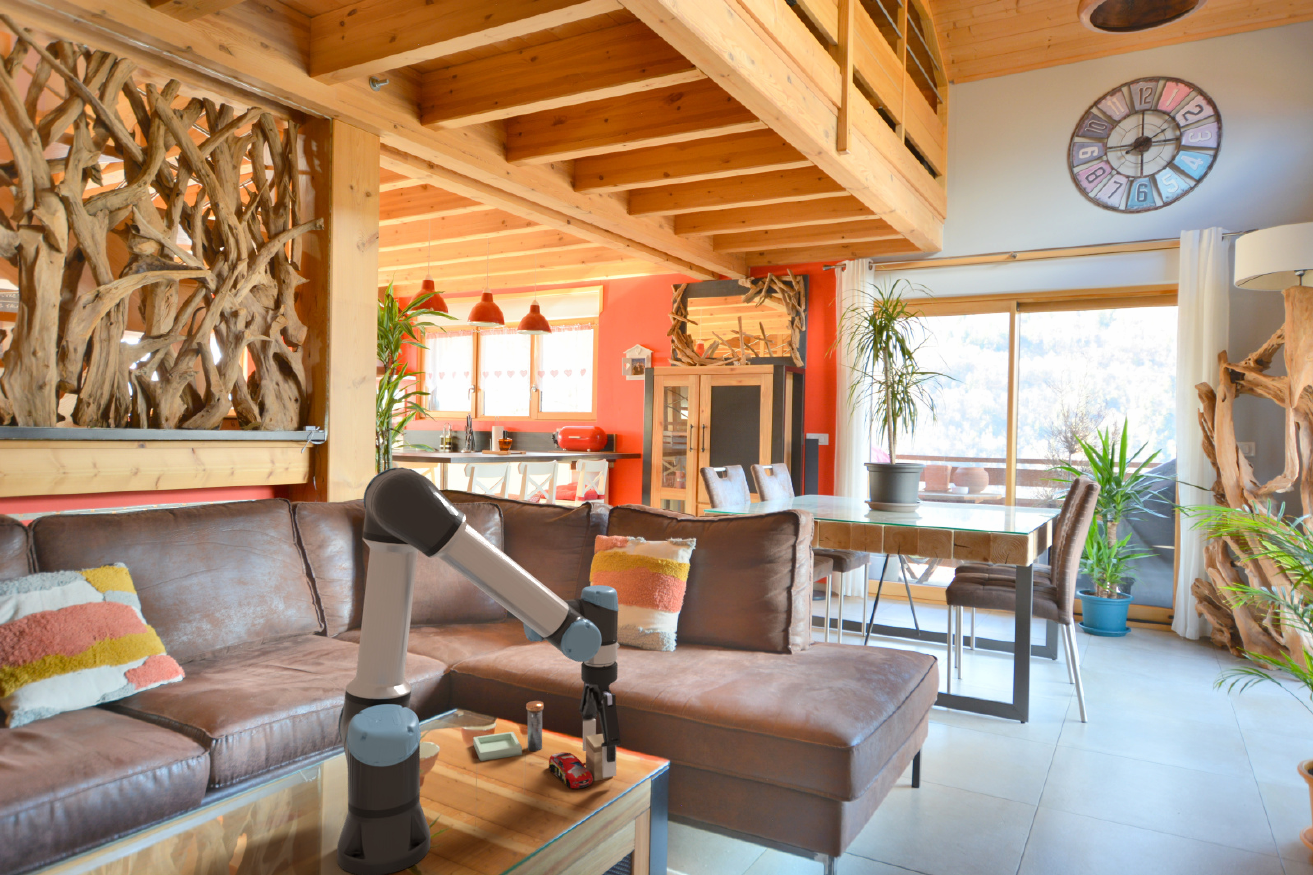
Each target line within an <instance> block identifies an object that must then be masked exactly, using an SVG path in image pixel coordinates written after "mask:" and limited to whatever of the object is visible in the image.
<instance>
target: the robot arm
mask: <svg viewBox="0 0 1313 875" xmlns="http://www.w3.org/2000/svg"><path fill="white" fill-rule="evenodd" d="M365 487H366V488H365V490H364V493H363V501H362V502H363V507H364V510H365V511H364V512H365V513H364V520H363V522H364V523H363V530H362V531H363V532H362V533H363V534H362V541H364V542H365V544H366V545H367V546H368V548H369V556H368V564H367V573H366V574H367V575H366V582H365V583H366V584H365V593H364V600H363V611H362V620H361V628H360V636H359V646H358V656H357V664H356V670H355V671H356V672H355V677H354V678H353V679H352V680H351V681H349V682H348V683H347V685H345V691H344V692H345V694H344V700H343V701H344V702H343V706H342V708H341V711H340V713H339V716H338V725H337V726H338V734H339V737H340V740H341V743H342V745H343V747H342V748H343V751H344V754H345V760H346V763H347V814H346V817H345V820H344V824H343V826H342V829H341V832H340V834H339V839H338V841H337V847H336V861H337V863H338V865H339V867H340V869H342V870H344V871H346V872H347V873H350V874H353V875H387V874H393V873H396V872H399V871H402V870H403V871H404V870H405V869H407V868H410V867H412V866H413V865H415V864H417V863H418V862H420V861H422V860H423V859H424V858H425V857H426V855H427V854H428V853H429V851H430V849H431V831H430V827H429V826H430V825H429V824H428V822H427V819H426V818H427V817H426V815H425V813H424V810H423V807H422V804H421V801H420V799H421V798H420V797H421V796H420V792H421V790H420V789H421V784H420V783H421V780H420V779H421V776H420V775H421V773H420V771H421V770H420V768H421V767H420V766H421V764H420V763H421V759H420V757H421V756H420V755H421V752H420V750H421V749H420V747H421V746H420V744H421V743H420V742H421V737H422V734H421V733H422V731H421V727H420V721H419V718H418V715H417V714H416V713H415V711H413V710H412V709H410V706H411V695H412V685H411V684H410V683H409V682H408V681H407V680H406V678H405V673H406V665H407V655H408V646H409V638H410V629H411V620H412V612H413V611H412V609H413V601H414V593H415V586H416V585H415V584H416V575H417V567H418V556H419V552H420V553H421V554H423V555H425V556H426V557H427V558H428V559H433V558H434V559H435V558H438V559H440V560H441V561H442V562H444V563H445V564H446V565H448V566H449V567H451V568H452V569H453V570H454V571H456V572H457V573H458V574H460V575H461V576H462V577H463V578H465V579H466V580H467V581H468V582H470V583H471V584H472V585H474V586H475V587H477V589H479V590H480V591H482V592H483V593H485V595H487V596H488V597H490V598H491V599H492V600H494V601H495V602H496V603H497V604H499V606H502V607H503V608H504V609H505V610H506V611H508V612H509V613H510V614H512V615H513V616H515V617H516V618H517V619H518V620H520V621H521V622H522V625H523V631H524V634H525V635H524V636H525V637H526V639H527V640H529V642H540V643H542V642H544V641H547V642H548V643H549V644H550V645H551V646H553V647H555V648H556V649H557V650H559V652H561V653H562V654H563V655H564V657H566V658H567V659H569V660H572V661H574V662H577V663H581V665H580V669H581V672H580V679H581V681H582V682H583V686H582V693H581V699H580V705H579V713H580V714H581V718H582V751H583V752H586V736H590V735H596V734H597V719H596V718H597V717H598V718H599V723H600V727H601V734H603V739H604V743H602V744H601V747H602V777H603V778H605V777H611V776H613V777H615V776H617V746H621V744H622V741H621V734H620V727H619V719H618V711H617V701H616V700H617V698H616V697H617V696H616V693H614V692H613V693H612V691H611V689H610V685H612V684H613V683H615V682H617V679H618V662H617V660H618V649H619V648H620V643H618V639H619V638H618V632H619V631H618V628H619V627H618V625H619V624H618V623H619V611H620V610H619V598H618V592H617V590H616V588H614V587H612V586H611V585H610V586H609V585H602V584H601V585H600V584H599V585H597V584H596V585H590V586H585V587H584V588H582V590H581V595H580V598H574V599H573V598H572V599H566V600H565V599H564V600H563V599H562V598H561V597H559V595H557V594H556V593H555V592H553V590H551V589H550V588H548V587H547V586H546V585H544V584H543V583H542V582H541V581H539V580H538V578H536V577H534V576H533V575H532V573H530V572H528V571H527V570H526V569H524V568H523V567H522V566H521V565H520V564H518V563H517V562H516V561H515V560H514V559H512V558H511V557H510V556H508V555H507V554H506V553H505V552H503V551H502V549H499V548H498V547H497V546H496V545H494V544H493V543H492V542H491V541H490V540H488V538H486V537H485V536H483V535H482V534H481V533H480V532H479V531H477V530H475V528H474V527H472V526H471V525H470V524H469V523H467V516H466V514H465V513H464V512H463V511H462V510H460V509H459V508H458V507H457V506H456V505H455V504H453V502H452V501H451V500H449V499H448V497H446V496H445V494H443V492H442V491H441V490H440V489H439V488H438V486H436V485H435V483H434V482H433V481H432V480H430V479H429V478H428V477H427V476H425V475H423V474H422V473H419V472H417V471H416V470H413V469H411V468H406V467H392V468H388V469H385V470H383V471H381V472H379V473H378V474H376V475H375V476H373V478H371V480H370V481H369V483H368V484H367V486H365ZM597 714H598V715H597Z"/></svg>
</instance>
